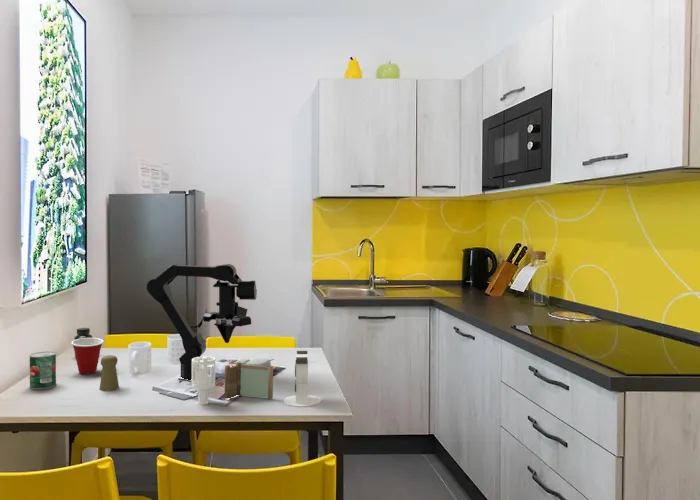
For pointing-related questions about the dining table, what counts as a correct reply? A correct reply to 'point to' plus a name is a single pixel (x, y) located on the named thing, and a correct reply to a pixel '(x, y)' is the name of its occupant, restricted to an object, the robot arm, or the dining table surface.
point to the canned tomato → (42, 370)
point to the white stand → (301, 384)
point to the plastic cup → (87, 354)
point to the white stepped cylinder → (203, 377)
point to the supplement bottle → (83, 334)
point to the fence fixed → (232, 380)
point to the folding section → (257, 381)
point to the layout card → (176, 395)
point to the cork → (109, 373)
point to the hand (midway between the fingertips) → (227, 342)
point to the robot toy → (255, 362)
